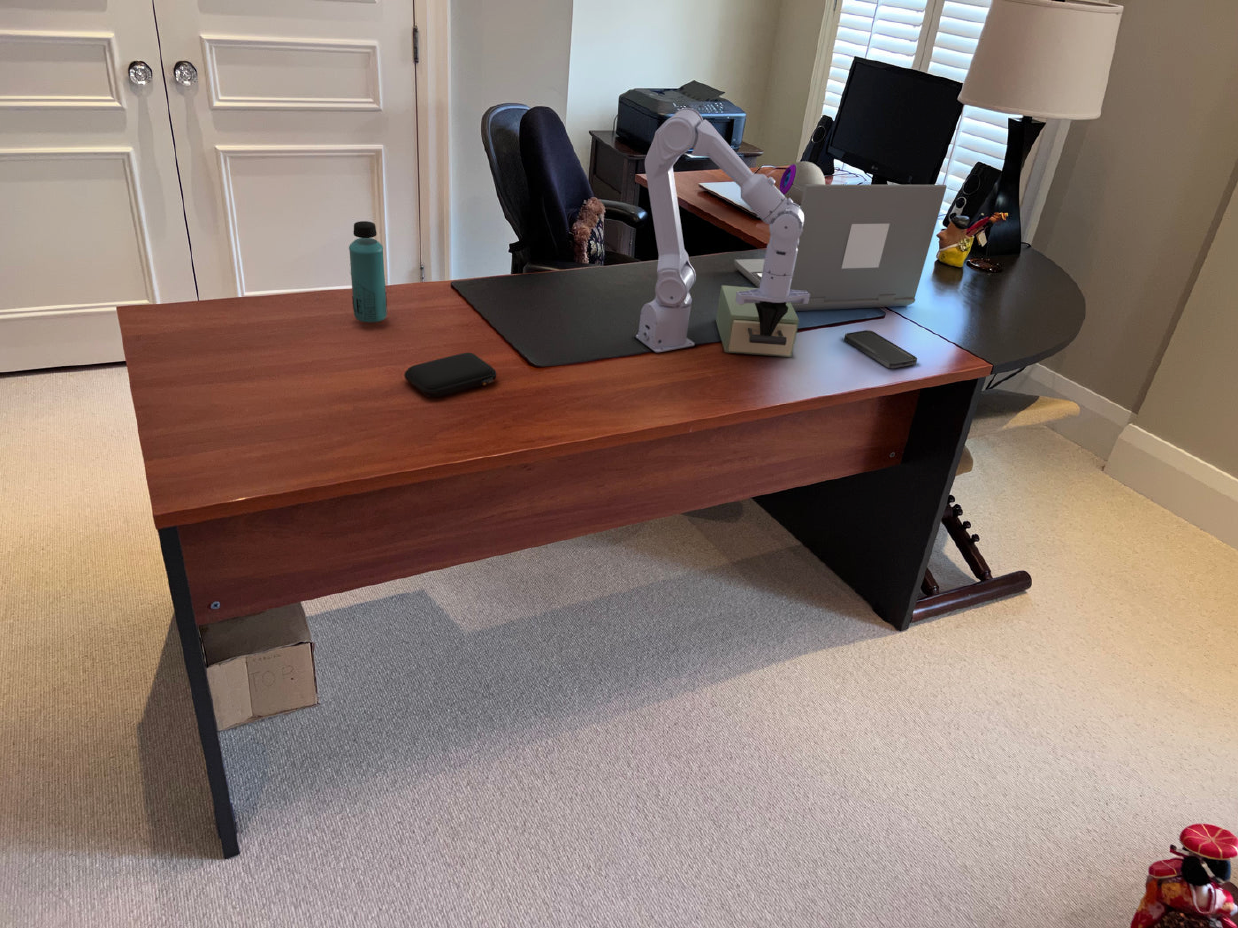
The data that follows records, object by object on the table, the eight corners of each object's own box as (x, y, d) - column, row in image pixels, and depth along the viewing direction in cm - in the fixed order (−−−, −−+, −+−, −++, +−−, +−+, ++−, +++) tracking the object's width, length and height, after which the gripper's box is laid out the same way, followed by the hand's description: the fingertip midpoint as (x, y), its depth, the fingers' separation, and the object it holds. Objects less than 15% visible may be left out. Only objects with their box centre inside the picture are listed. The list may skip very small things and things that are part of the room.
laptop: (855, 266, 233) (883, 153, 218) (913, 307, 212) (948, 186, 197) (732, 269, 222) (752, 151, 207) (781, 313, 202) (807, 186, 186)
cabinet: (791, 357, 183) (799, 320, 178) (724, 352, 182) (731, 315, 177) (777, 325, 196) (784, 290, 191) (715, 320, 195) (721, 285, 190)
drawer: (795, 366, 177) (801, 337, 174) (732, 362, 176) (737, 332, 173) (777, 325, 193) (783, 298, 190) (720, 321, 192) (724, 293, 189)
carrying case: (431, 406, 152) (504, 386, 161) (430, 390, 151) (505, 370, 159) (400, 380, 159) (472, 362, 168) (399, 365, 157) (472, 347, 166)
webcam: (770, 205, 273) (780, 154, 265) (811, 208, 275) (822, 158, 266) (781, 219, 262) (791, 167, 254) (823, 222, 264) (835, 170, 256)
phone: (870, 329, 195) (919, 359, 185) (868, 334, 196) (918, 364, 185) (842, 334, 192) (891, 364, 181) (841, 339, 192) (889, 369, 182)
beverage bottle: (394, 321, 179) (390, 222, 169) (373, 333, 174) (367, 231, 163) (367, 313, 181) (362, 215, 171) (346, 324, 176) (338, 223, 165)
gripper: (803, 263, 175) (790, 328, 182) (734, 263, 171) (723, 329, 178) (819, 276, 170) (805, 342, 177) (748, 276, 166) (736, 344, 173)
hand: (765, 337), depth 177 cm, fingers closed, pressing on drawer
